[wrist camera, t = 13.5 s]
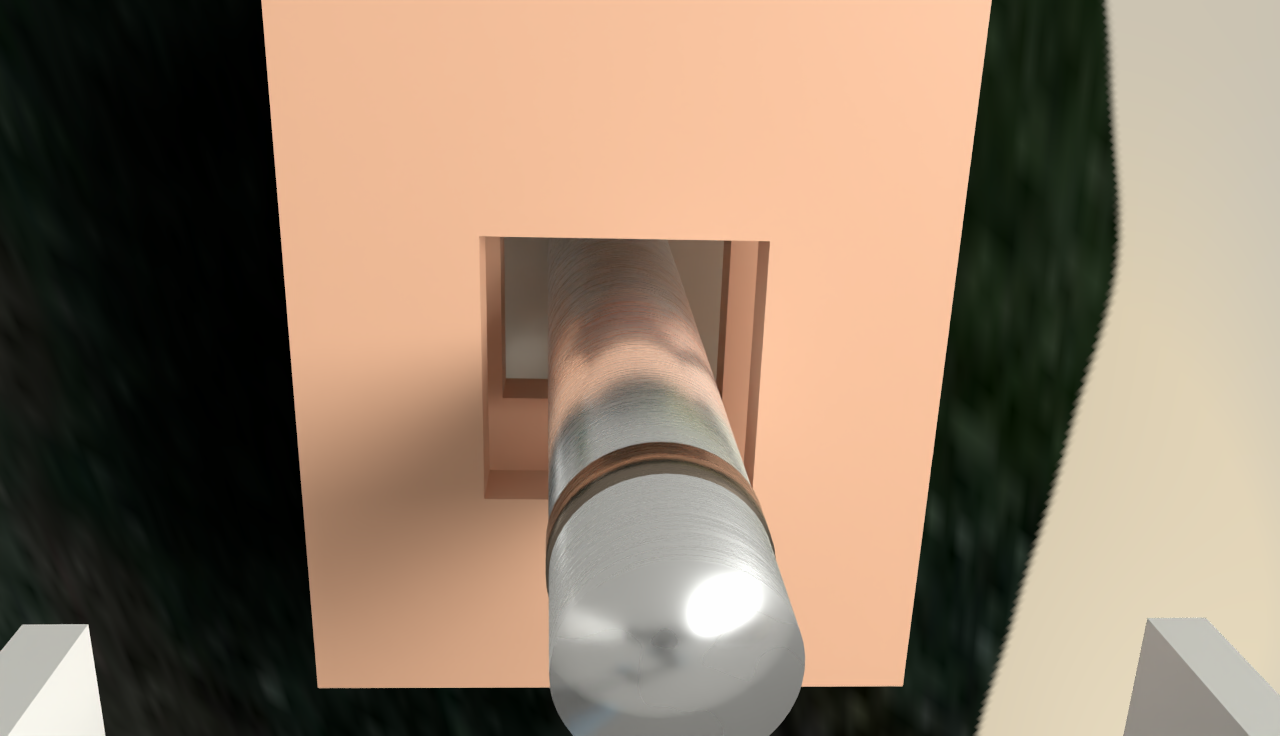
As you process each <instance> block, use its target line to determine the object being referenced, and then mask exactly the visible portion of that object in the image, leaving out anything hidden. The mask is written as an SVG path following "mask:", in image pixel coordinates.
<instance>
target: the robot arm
mask: <svg viewBox="0 0 1280 736" xmlns="http://www.w3.org/2000/svg"><path fill="white" fill-rule="evenodd" d="M0 736H105V730H104V724H103V718H102V711H101V705H100V698H99V692H98V685H97V679H96V672H95V666H94V659H93V653H92V646H91V640H90V633H89V627H88V624H55V625H22V626H21V627H20V628H19V629H18V631H17V632H16V633H15V634H14V636H13V637H12V638H11V639H10V640H9V642H8V643H7V644H6V645H5V647H4V648H3V649H2V650H1V651H0ZM1123 736H1280V695H1279V694H1278V693H1277V692H1276V691H1275V690H1274V689H1273V688H1272V687H1271V686H1270V685H1269V684H1268V683H1267V682H1266V681H1265V679H1264V678H1263V677H1262V676H1261V675H1260V674H1259V673H1258V672H1257V671H1256V670H1255V669H1254V668H1253V667H1252V666H1251V665H1250V664H1249V663H1248V662H1247V661H1246V660H1245V658H1244V657H1243V656H1242V655H1241V654H1240V653H1239V652H1238V651H1237V650H1236V649H1235V648H1234V647H1233V646H1232V645H1231V644H1230V643H1229V642H1228V641H1227V640H1226V639H1225V638H1224V636H1222V634H1221V633H1219V631H1218V630H1217V629H1216V628H1215V627H1214V626H1213V625H1212V624H1211V623H1210V622H1209V621H1208V620H1207V619H1206V618H1147V623H1146V628H1145V633H1144V638H1143V642H1142V647H1141V653H1140V657H1139V662H1138V667H1137V672H1136V677H1135V682H1134V686H1133V691H1132V696H1131V701H1130V706H1129V711H1128V716H1127V721H1126V726H1125V731H1124V735H1123Z"/></svg>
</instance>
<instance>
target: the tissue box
mask: <svg viewBox="0 0 1280 736" xmlns="http://www.w3.org/2000/svg"><path fill="white" fill-rule="evenodd" d="M991 1H992V0H261V2H262V14H263V26H264V38H265V50H266V62H267V75H268V87H269V99H270V111H271V123H272V135H273V147H274V160H275V172H276V184H277V196H278V208H279V220H280V233H281V245H282V257H283V269H284V281H285V293H286V305H287V318H288V330H289V342H290V354H291V366H292V378H293V390H294V403H295V415H296V427H297V439H298V451H299V463H300V475H301V488H302V500H303V512H304V524H305V536H306V548H307V560H308V573H309V585H310V597H311V609H312V621H313V633H314V645H315V658H316V670H317V682H318V688H471V687H550V681H549V597H548V592H547V588H546V575H545V571H546V530H547V525H548V241H549V237H550V238H609V239H667V241H668V244H669V246H670V249H671V252H672V255H673V258H674V261H675V264H676V267H677V270H678V273H679V276H680V279H681V282H682V285H683V288H684V291H685V294H686V296H687V299H688V302H689V305H690V308H691V311H692V314H693V317H694V320H695V323H696V326H697V329H698V332H699V335H700V338H701V341H702V344H703V346H704V349H705V352H706V355H707V358H708V361H709V364H710V367H711V370H712V373H713V376H714V379H715V382H716V385H717V388H718V391H719V394H720V397H721V399H722V402H723V405H724V408H725V411H726V414H727V417H728V420H729V423H730V426H731V429H732V432H733V435H734V438H735V441H736V444H737V447H738V449H739V452H740V455H741V458H742V461H743V464H744V467H745V470H746V473H747V476H748V479H749V482H750V485H751V487H752V489H753V490H754V492H755V494H756V496H757V498H758V500H759V502H760V505H761V508H762V511H763V514H764V516H765V519H766V522H767V525H768V528H769V531H770V534H771V537H772V541H773V544H774V548H775V556H776V561H777V564H778V567H779V570H780V573H781V576H782V579H783V582H784V585H785V588H786V591H787V594H788V597H789V600H790V602H791V605H792V608H793V611H794V614H795V617H796V620H797V623H798V626H799V629H800V632H801V636H802V639H803V643H804V650H805V671H804V676H803V682H802V685H801V686H903V680H904V672H905V664H906V657H907V649H908V641H909V633H910V626H911V618H912V610H913V603H914V595H915V587H916V579H917V572H918V564H919V556H920V549H921V541H922V533H923V525H924V518H925V510H926V502H927V495H928V487H929V479H930V471H931V464H932V456H933V448H934V441H935V433H936V425H937V418H938V410H939V402H940V394H941V387H942V379H943V371H944V364H945V356H946V348H947V340H948V333H949V325H950V317H951V310H952V302H953V294H954V286H955V279H956V271H957V263H958V256H959V248H960V240H961V232H962V225H963V217H964V209H965V202H966V194H967V186H968V178H969V171H970V163H971V155H972V148H973V140H974V132H975V124H976V117H977V109H978V101H979V94H980V86H981V78H982V70H983V63H984V55H985V47H986V40H987V32H988V24H989V17H990V9H991Z"/></svg>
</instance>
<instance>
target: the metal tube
mask: <svg viewBox="0 0 1280 736" xmlns="http://www.w3.org/2000/svg"><path fill="white" fill-rule="evenodd" d="M545 575H546V588H547V592H548V597H549V681H550V690H551V694H552V698H553V702H554V705H555V707H556V709H557V712H558V714H559V716H560V717H561V719H562V721H563V722H564V724H565V726H566V727H567V728H568V729H569V730H570V732H571V733H572V734H573V735H574V736H769V735H770V734H771V733H772V732H773V731H774V730H775V729H776V728H777V727H778V726H779V725H780V724H781V722H782V721H783V720H784V719H785V717H786V716H787V714H788V713H789V711H790V710H791V708H792V706H793V704H794V702H795V701H796V699H797V697H798V694H799V691H800V688H801V685H802V682H803V676H804V671H805V650H804V643H803V639H802V636H801V632H800V629H799V626H798V623H797V620H796V617H795V614H794V611H793V608H792V605H791V602H790V600H789V597H788V594H787V591H786V588H785V585H784V582H783V579H782V576H781V573H780V570H779V567H778V564H777V561H776V556H775V548H774V544H773V541H772V537H771V534H770V531H769V528H768V525H767V522H766V519H765V516H764V514H763V511H762V508H761V505H760V502H759V500H758V498H757V496H756V494H755V492H754V490H753V489H752V487H751V485H750V482H749V479H748V476H747V473H746V470H745V467H744V464H743V461H742V458H741V455H740V452H739V449H738V447H737V444H736V441H735V438H734V435H733V432H732V429H731V426H730V423H729V420H728V417H727V414H726V411H725V408H724V405H723V402H722V399H721V397H720V394H719V391H718V388H717V385H716V382H715V379H714V376H713V373H712V370H711V367H710V364H709V361H708V358H707V355H706V352H705V349H704V346H703V344H702V341H701V338H700V335H699V332H698V329H697V326H696V323H695V320H694V317H693V314H692V311H691V308H690V305H689V302H688V299H687V296H686V294H685V291H684V288H683V285H682V282H681V279H680V276H679V273H678V270H677V267H676V264H675V261H674V258H673V255H672V252H671V249H670V246H669V244H668V241H667V239H609V238H550V237H549V241H548V525H547V530H546V571H545Z"/></svg>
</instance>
